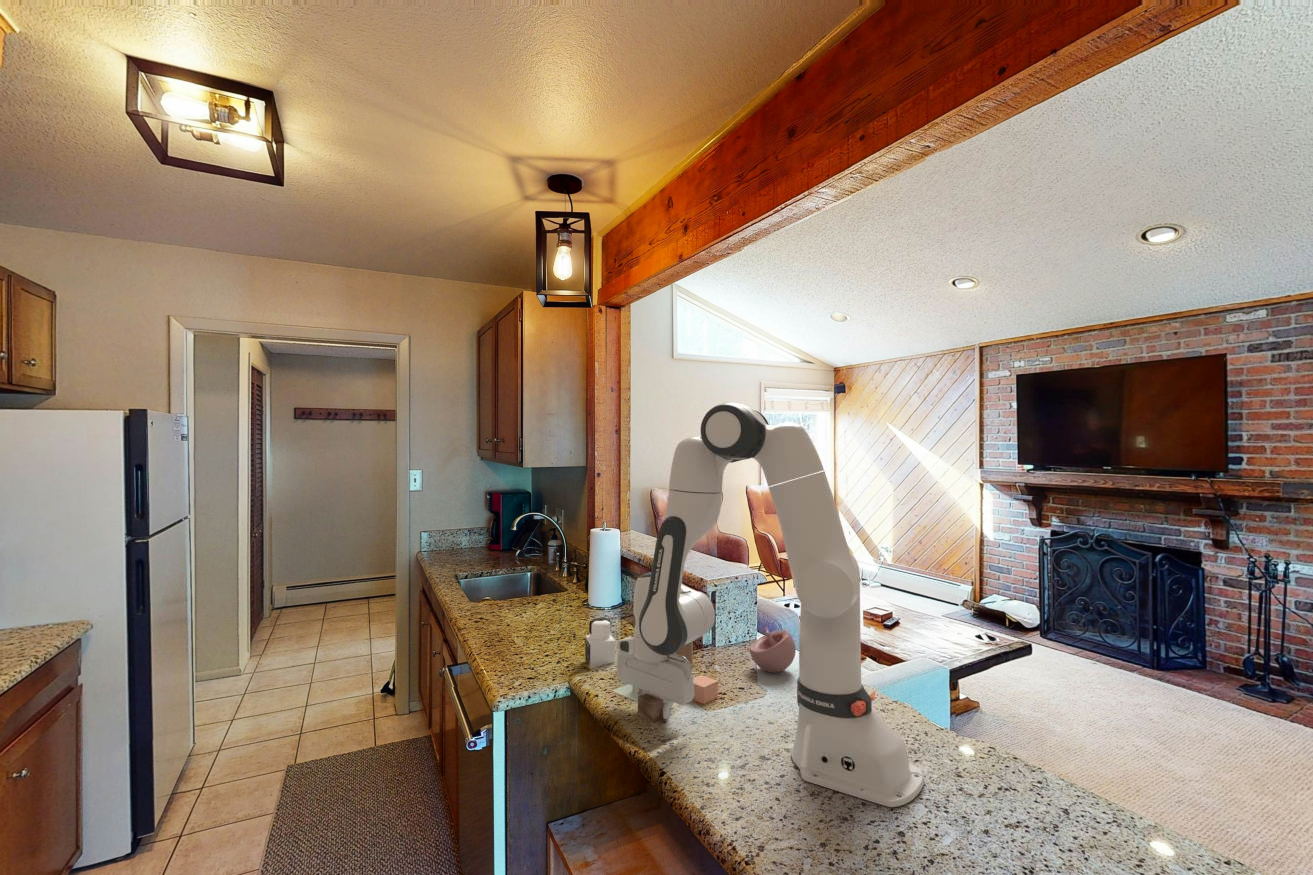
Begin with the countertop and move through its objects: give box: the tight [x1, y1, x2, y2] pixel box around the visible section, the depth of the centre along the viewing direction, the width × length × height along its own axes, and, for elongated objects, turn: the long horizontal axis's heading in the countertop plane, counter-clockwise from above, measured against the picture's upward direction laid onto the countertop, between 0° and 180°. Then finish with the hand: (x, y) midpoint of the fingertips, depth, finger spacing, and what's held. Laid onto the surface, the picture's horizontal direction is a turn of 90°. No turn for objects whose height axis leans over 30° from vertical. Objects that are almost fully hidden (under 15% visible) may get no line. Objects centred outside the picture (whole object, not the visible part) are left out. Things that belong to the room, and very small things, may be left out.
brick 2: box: [692, 675, 719, 705], centre depth 128 cm, size 5×5×5 cm
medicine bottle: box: [584, 617, 616, 670], centre depth 153 cm, size 7×7×12 cm
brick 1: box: [637, 692, 672, 723], centre depth 119 cm, size 5×5×5 cm
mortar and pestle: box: [748, 626, 796, 673], centre depth 148 cm, size 12×12×12 cm
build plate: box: [611, 683, 638, 703], centre depth 132 cm, size 12×12×1 cm
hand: (654, 712), depth 119 cm, fingers closed on brick 1, 5 cm apart
